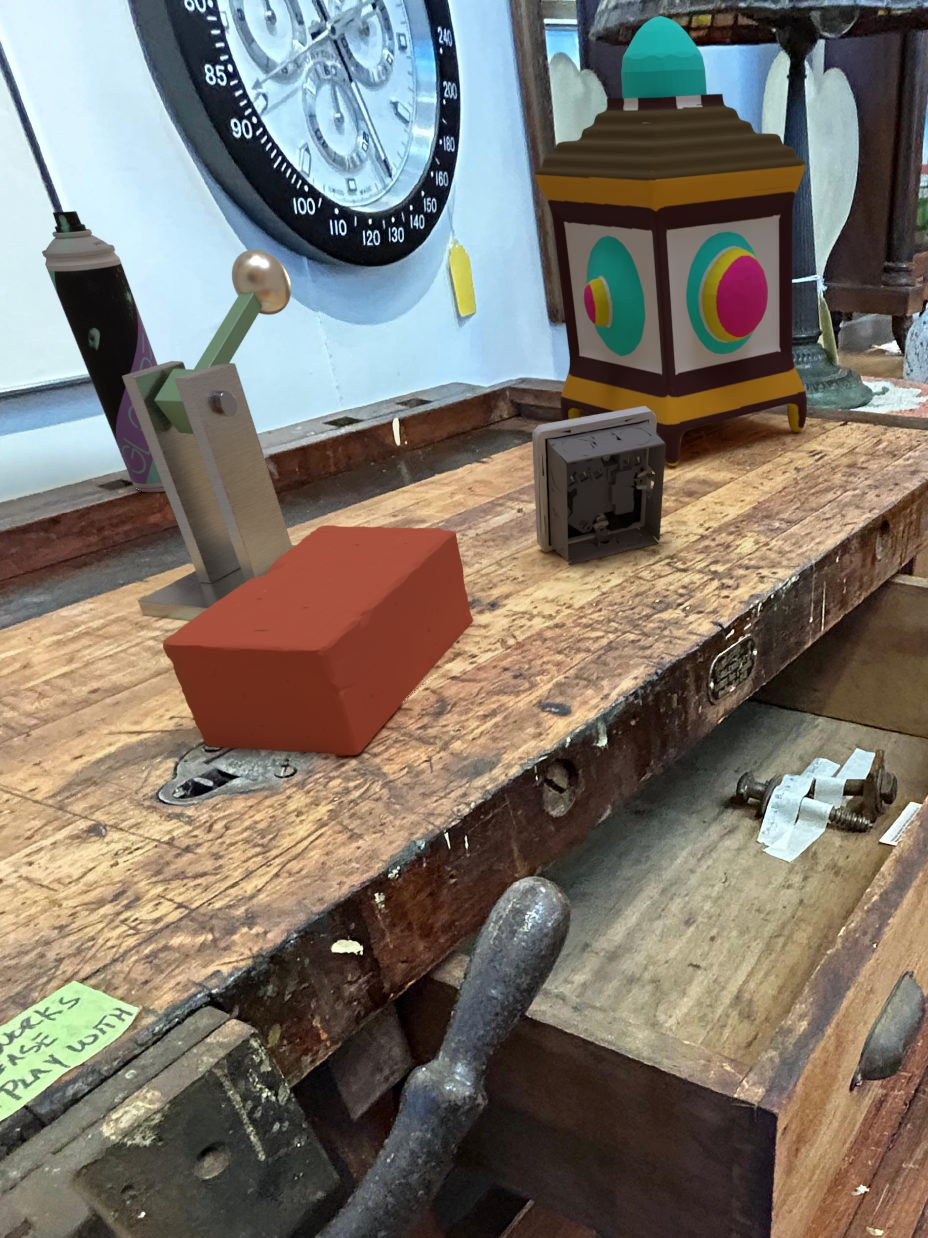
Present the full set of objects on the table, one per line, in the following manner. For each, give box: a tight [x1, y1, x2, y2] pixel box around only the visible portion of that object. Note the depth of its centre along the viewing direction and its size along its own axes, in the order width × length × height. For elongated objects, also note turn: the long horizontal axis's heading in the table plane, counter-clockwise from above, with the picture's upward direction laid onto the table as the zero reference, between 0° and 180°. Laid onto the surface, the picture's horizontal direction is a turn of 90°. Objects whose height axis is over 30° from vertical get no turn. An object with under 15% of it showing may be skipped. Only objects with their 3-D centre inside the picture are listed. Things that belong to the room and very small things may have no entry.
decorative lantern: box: [534, 15, 808, 467], centre depth 91 cm, size 20×20×30 cm
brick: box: [162, 524, 474, 757], centre depth 59 cm, size 18×9×6 cm, turn 171°
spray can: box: [41, 210, 166, 493], centre depth 87 cm, size 6×6×20 cm
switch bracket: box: [122, 360, 297, 622], centre depth 68 cm, size 12×9×14 cm
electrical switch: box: [531, 406, 666, 565], centre depth 74 cm, size 9×5×9 cm, turn 122°
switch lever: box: [154, 249, 292, 434], centre depth 67 cm, size 14×4×4 cm, turn 163°
